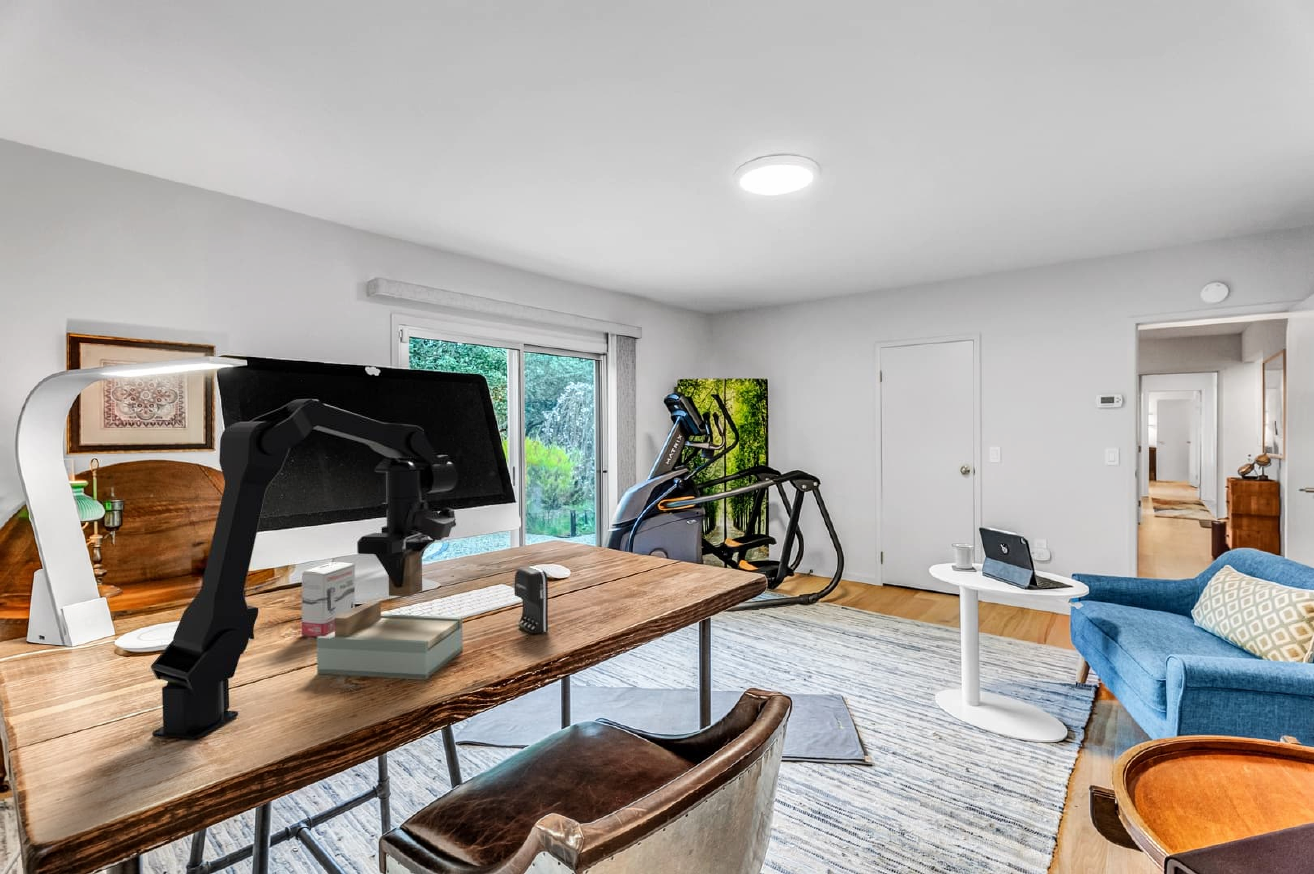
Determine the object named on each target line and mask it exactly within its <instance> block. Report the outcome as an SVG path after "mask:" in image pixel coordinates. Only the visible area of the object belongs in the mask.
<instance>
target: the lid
mask: <svg viewBox="0 0 1314 874" xmlns="http://www.w3.org/2000/svg"><path fill="white" fill-rule="evenodd" d="M381 607H382V606H381V601H377V600H373V601H372V600H369V601H367V602H365V603H362V604H361V605H359V606H355V608H354V609H352V610H350V611H348V612H346V613H344V614H342V615H339V616H337V617H335V618H334V619H335V631H334V632H332V633H330V634H328V635H326V636H331V637H353V638H374V639H396V640H418V641H428V648H430V647H431V646H432V645H434V644H435V643H437V642H438V641H439V640H441V639H442V638H444V637H445V636H446V635H448V634H449V633H451V632H452V631H454V630H455V629H456V628H458V621H440V620H415V619H391V618H381V614H382V610H381Z"/></svg>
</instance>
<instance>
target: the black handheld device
mask: <svg viewBox="0 0 1314 874" xmlns="http://www.w3.org/2000/svg"><path fill="white" fill-rule="evenodd" d="M513 584H514V587H513V588H514V596H516V597H518V598H520V599H521V600H522V613H521V617H520V620H519V622H518V627H519V628H520V629H521V630H522V631H525V632H527V633H530V634H532V635H534V634H535V635H536V634H541V633H546V632H548V630H549V618H548V617H549V610H548V609H549V588H548V587H549V585H548V584H549V583H548V575H547V573H546V571H545V570H543V569H541V568H538V567H535V566H527V567H522V568H519V569H518V570H516V572H515V574H514V583H513Z"/></svg>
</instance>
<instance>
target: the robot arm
mask: <svg viewBox="0 0 1314 874" xmlns="http://www.w3.org/2000/svg"><path fill="white" fill-rule="evenodd" d="M312 430H317V431H320V432H324V433H327V434H331V435H333V436H334V435H335V436H338V437H341V438H345V439H348V440H353V441H355V442H356V441H357V442H359V443H363V444H364V445H367V446H369V447H370V449H372V450H373V451H374V452H376V453H379V454H381V455H382V456H385V458H383V459H382V462H380V463H378V465H377V466H376V467H375V468H374V472H376V473H385V490H386V492H385V495H386V497H385V500H386V502H382V503H381V504H380V507H381V508H380V509H381V510H386V525H385V526H382V527H381V532H372V533H370V534H366V535H363V536H361V537H360V538H359V539H358V541H356V544H357V545H356V547H357V549H356V550H357V551H356V552H357V554H359V555H374V556H375V557H376V558H377V560H378V561H379V563H380V564H381V565H382V567H383V568H384V570H385V572H386V574H387V575H388V578H389V577H390V579H391V581H392V583H393V585H394V586H395V588H401V587H402V583H403V574H404V562H405V557H406V556H407V555H408V554H409V553H410V551H421V552H422V558H423V556H424V553H425V552H426V549H428V548H429V547H430V546H431V545H432V544H433V543H435V541H441V540H443V539H444V538H448V537H450V534H451V531H452V529H453V528H455V527H456V526H457V522H456V515H455V510H454V509H452V508H449V507H445V508H442V509H441V510H440V511H437V510H436V511H433V510H430V509H429V504H428V502H427V500H422V494H431V493H439V492H446V491H451V490H452V489H454V488H455V487H456V485H457V483H458V478H459V473H458V472H457V470H456V467H455V465H454V464H453V463H452V462H451V461H450V456H449V454H448V455H447V454H445V455H444V454H440V455H437V453H436V452H435V450H434V448H433V447H432V445H431V443H430V442H429V439H428V438H427V437H426V434H425V430H424V429H423V428H422V427H421V426H418V425H416V424H415V425H414V424H404V423H394V422H392V423H391V422H383V421H379V420H376V419H372V418H370V417H366V416H363V415H361V414H357V413H354V412H351V411H348V410H345V409H341V408H339V407H336V406H333V405H329V404H326V403H323V402H322V401H320V400H319V399H315V398H303V399H301V398H299V399H294V400H292V401H290V402H289V403H286V404H285V405H283V406H281V407H280V408H277V409H275V410H272V411H269V412H267V413H265V414H261V415H260V416H257V417H254V418H253V419H251V420H249V421H239V422H235V423H233V424H231V425H230V426H228V427H226V428H225V429H224V430H223V432H222V433H221V437H220V442H219V456H218V457H219V459H218V460H219V461H218V462H219V463H218V464H219V466H220V469H221V473H222V477H223V481H224V487H223V492H222V497H221V501H220V504H219V509H218V514H217V518H216V522H215V527H214V530H213V536H212V539H211V543H210V549H209V552H208V555H207V561H206V566H205V570H204V574H203V578H202V583H201V586H200V589H199V591H198V593H197V595H195V597H194V598H193V599H192V601H191V602H190V603H189V604H188V606H187V607H186V608H185V609H184V610H183V613H182V615H181V618H180V620H179V623H178V625H177V627H176V630H175V632H174V635H173V638H172V641H170V643H168V645H167V647H166V648H165V649H164V650H163V651H162V652H161V653H160V655H158V656H157V658H156V659H155V660H154V662H152V664H151V665H150V669H151V671H152V673H153V674H154V675H153V676H155V679H157V680H159V681H160V680H161V681H166V682H167V683H166V685H165V686H162V687H161V703H162V704H161V705H162V726H160V727H159V728H157V729H155V730H153V731H152V733H151V734H152V735H151V736H152V737H159V738H170V739H171V738H172V739H183V740H197V739H200V738H202V737H203V736H205V735H207V734H209V733H210V732H212V731H214V730H215V729H217V728H219V727H220V726H222V725H224V724H226V723H228V722H229V721H232V720H233V719H234V718H236V717H238V716H239V711H237V710H230V691H229V688H230V687H229V684H230V683H229V681H230V680H229V679H232V678H234V676H235V673H236V670H237V667H238V664H239V661H240V657H241V655H243V654H244V653H245V651H246V649H247V647H248V644H249V643H250V642H249V641H250V640H254V639H255V634H254V630H255V629H254V627H255V624H256V621H257V619H258V616H259V607H258V606H252V605H248V604H247V600H246V596H245V589H246V584H247V579H248V576H249V575H248V574H249V571H250V565H251V563H252V562H251V561H252V556H253V551H254V547H255V543H256V538H257V534H258V529H259V525H260V522H261V521H260V520H261V515H262V511H263V506H264V502H265V497H266V493H267V490H268V487H269V486H270V484H271V483H272V482H273V480H274V479H275V478H276V477H277V475H278V474H279V473H280V471H282V469H283V467H284V464H285V462H286V459H287V457H288V455H289V453H290V450H291V448H292V447H293V446H295V445H297V444H298V443H299V442H302V441H303V440H305V438H306V437H307V436H308V435H309V434H310V432H312ZM429 538H430V539H429Z"/></svg>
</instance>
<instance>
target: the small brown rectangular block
mask: <svg viewBox="0 0 1314 874" xmlns="http://www.w3.org/2000/svg"><path fill="white" fill-rule="evenodd" d="M422 591H423V557H422V552H421V551H410V553H409V554H408V555H407V556H406V557H405V562H404V574H403V583H402V587H401V588H395V586H394V585H393V583H392V581H391V579H390V577H389V576H388V596H390V597H412V596H414V595H416V594H418V593H420V592H422Z"/></svg>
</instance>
